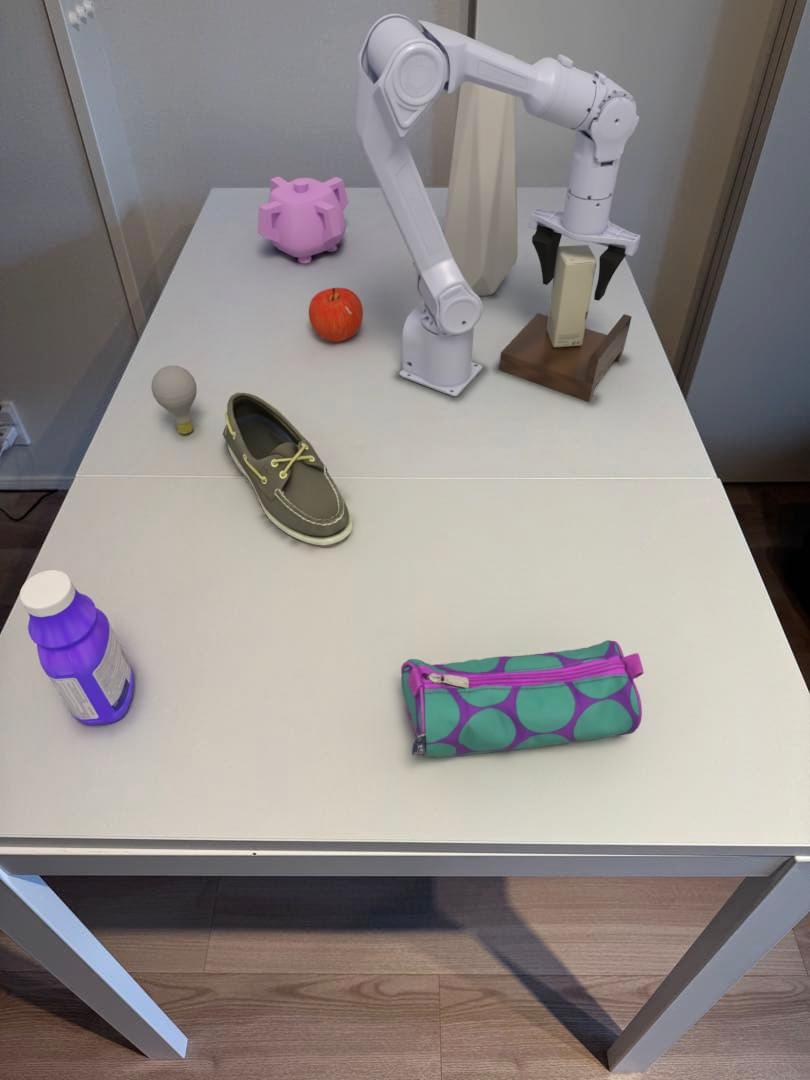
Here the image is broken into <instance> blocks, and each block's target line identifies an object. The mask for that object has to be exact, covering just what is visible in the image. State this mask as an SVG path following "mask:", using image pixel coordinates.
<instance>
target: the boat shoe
mask: <svg viewBox="0 0 810 1080" xmlns="http://www.w3.org/2000/svg"><path fill="white" fill-rule="evenodd" d="M224 412H225V413H224V416H225V417H224V418H225V422H226V426H225V427H224V429H223V432H222V436H223V439H224V441H225V442H226V445H227V448H228V451H229V455H230V456H231V458H232V460H233V462H234V463H235V465H236V466H237V468H238V469H239V470H240V472H241V473H242V474H243V475H244V477H246V478H247V481H249V483H250V485H251V486H252V488H253V490H254V492H255V494H256V497H257V499H258V502H259V504H260V506H261V508H262V510H263V512H264V513H265V515H266V517H267V518H268V519H269V520H270V521H271V523H273V524H274V525H275V526H276V527H277V528H279V529H280V530H281V531H283V532H284V533H286V534H287V535H289V536H291V537H293V538H294V539H297V540H298V541H302V542H305V543H308V544H311V545H316V546H329V545H333V544H336V543H339V542H341V541H343V540H344V539H346V538H347V537H348V536H350V534H351V533H352V531H353V528H354V520H353V515H352V512H351V510H350V507H349V505H348V504H347V502H346V500H345V499H344V497H343V495H342V494H341V493H340V491H339V488H338V486H337V484H336V483H335V482H334V480H333V478H332V477H331V475H330V474H329V472H328V468H327V465H325V464H324V462H323V461H322V460H321V459H320V457H319V455H318V454H317V452H316V449H315V448H314V446H313V444H311V442H310V441H309V440H308V439H307V438H306V437H305V436H303V434H302V433H301V432H300V431H299V430H298V429H297V428H296V427H295V426H294V425H293V424H292V423H291V422H290V420H289V419H288V418H286V417H285V415H283V414H282V412H281V411H280V410H279V409H278V408H276V407H275V406H273V405H272V404H271V403H269V402H268V401H267V400H265V399H264V398H260V397H259V396H257V395H255V394H251V393H249V392H235V393H233V394H232V395H231V396H230V397H229V399H228V401H227V405H226V410H225V411H224Z"/></svg>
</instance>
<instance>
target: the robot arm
mask: <svg viewBox="0 0 810 1080" xmlns="http://www.w3.org/2000/svg"><path fill="white" fill-rule="evenodd" d="M417 22H418V24H419V25H420V26H421V28H422V30H423V31H420V30H419V28H418V26H417V25H416V23H415V22H414V21H413V20H412V19H410V18H409V17H408V16H406V15H404V14H400V13H390V14H386V15H384V16H382V17H380V18H379V19H377V20H376V21H375V22H374V23H373V24H372V25H371V26H370V28H369V30H368V32H367V34H366V37H365V39H364V42H363V44H362V46H361V49H360V51H359V53H358V55H357V68H358V88H357V90H358V91H357V101H356V115H355V128H354V129H355V130H354V131H355V134H356V138H357V140H358V143H359V145H360V147H361V150H362V151H363V154H364V156H365V158H366V160H367V163H368V164H369V167H370V169H371V172H372V174H373V176H374V178H375V180H376V182H377V184H378V187H379V189H380V191H381V193H382V196H383V197H384V200H385V201H386V204H387V206H388V208H389V211H390V212H391V215H392V218H393V220H394V221H395V223H396V226H397V228H398V230H399V232H400V235H401V236H402V239H403V241H404V243H405V245H406V248H407V250H408V252H409V255H410V257H411V259H412V261H413V262H412V264H413V267H414V269H415V272H416V282H415V284H416V291H417V293H418V294H419V296H420V297H421V298H422V299H423V306H422V307H415V308H413V309H412V310H411V311H410V313H409V314H408V316H407V318H406V319H405V322H404V325H403V327H402V334H401V359H402V361H401V365H402V367H401V369H402V370H400V371H399V376H400V378H403V379H407V380H409V381H411V382H414V383H417V384H419V385H421V386H422V385H423V386H425V387H428V388H431V389H433V390H436V391H438V392H441V393H443V394H446V395H448V396H451V397H458V396H459V395H460V394H461V392H462V391H463V390H465V388H466V387H467V386H468V385H469V384H470V383H471V382H472V381H473V380H474V379H475V378H476V376H478V374H479V373H480V372H481V371H482V370H483V366H482V365H481V364H479V363H477V362H473V361H472V360H473V348H474V347H473V345H474V334H475V333H474V330H475V327H476V326H477V325H478V323H479V322H480V320H481V318H482V315H483V311H484V309H483V308H484V307H483V302H482V299H481V298H480V296H478V295H477V294H475V293H474V291H473V290H472V288H471V287H470V285H469V284H468V282H467V281H466V279H465V278H464V276H463V275H462V273H461V271H460V269H459V267H458V265H457V264H456V263H455V261H454V259H453V257H452V254H451V252H450V249H449V247H448V244H447V242H446V239H445V237H444V234H443V229H442V227H441V225H440V222H439V219H438V217H437V214H436V212H435V210H434V208H433V205H432V203H431V200H430V197H429V195H428V192H427V190H426V187H425V185H424V183H423V180H422V178H421V175H420V173H419V170H418V168H417V165H416V163H415V161H414V158H413V155H412V152H411V150H410V148H409V146H408V144H407V139H408V137H409V135H410V133H411V130H412V129H413V127H414V126H416V124H417V123H418V122H419V121H420V119H421V118H422V117H423V116H424V115H425V113H426V112H427V111H428V110H429V109H430V108H431V107H432V105H433V104H434V103H435V102H436V100H437V99H438V98H439V97H440V95H441V94H442V91H444V92H445V93H446V94H447V95H451V94H452V93H454V92H455V91H456V90H457V89H458V88H460V86H461V84H463V83H464V82H465V81H468V82H472V83H475V84H478V85H481V86H485V87H488V88H491V89H494V90H498V91H501V92H504V93H507V94H511V95H514V96H516V98H520V99H521V102H522V105H523V107H524V110H525V112H526V113H527V114H528V115H530V116H533V117H536V118H537V119H540V120H543V121H547V122H549V123H551V124H555V125H557V126H561V127H563V128H566V129H568V130H571V131H575V135H574V136H575V137H574V142H573V149H572V156H571V162H570V169H569V176H568V182H567V189H566V195H565V201H564V209H563V211H562V210H561V211H560V210H551V209H543V208H538V207H535V209H534V210H532V212H531V213H530V215H529V223H528V228H530V229H533V230H535V233H534V234H533V235H532V238H531V243H532V245H533V247H534V249H535V252H536V254H537V257H538V261H539V265H540V271H541V278H542V285H545V286H548V285H549V284H550V283H551V282H552V281H553V278H554V270H555V262H556V255H557V248H558V247H559V246H560V244H561V239H562V236H564V237H566V238H568V239H570V240H573V241H578V242H587V243H593V244H597V245H600V246H602V247H603V246H604V247H606V249H605V250H604V251H603V252H602V253H601V255H599V262H598V263H599V266H598V267H599V268H598V278H597V282H596V286H595V291H594V297H593V300H594V301H597V302H599V301H600V300H601V299H602V298H603V297H604V296H605V295H606V292H607V288H608V286H609V284H610V282H611V279H612V277H613V276H614V274H615V272H616V271H617V269H618V268H619V266H620V265H621V263H622V261H623V260H624V259H625V258H626V257H627V256H630V257H632V256H634V255H635V253H636V252H638V249H639V245H640V241H641V235H640V234H637V233H634V232H631V231H629V230H627V229H625V228H623V227H620V226H619V225H617V224H614V223H613V222H611V221H609V219H610V212H611V209H612V208H611V207H612V202H613V199H614V198H613V197H614V193H615V188H616V183H617V178H618V173H619V168H620V163H621V157H622V155H623V154H624V150H625V145H626V143H627V141H628V139H630V137H631V136H632V135H633V133H635V130H636V129H637V127H638V124H639V121H640V116H639V115H638V114H637V109H638V107H637V102H636V100H635V99H634V96H633V95H632V94H631V93H630V92H629V91H627V90H625V89H624V88H623V87H621V86H620V85H619V84H617V82H615V81H613V80H612V79H610V78H609V77H607V76H606V75H605V74H604V73H603V72H601V71H597V70H595V71H594V72H593V74H592V73H589V72H587V71H584V70H582V69H580V68H577V67H574V66H573V65H574V61H573V60H572V59H571V58H569V57H568V56H566V55H563V54H558V56H557V58H556V59H555V58H553V57H550V56H549V57H544V58H541V59H540V60H538V61H536V62H534V63H533V64H531V63H530V64H529V63H527V62H525V61H523V60H521V59H519V58H517V57H515V58H514V57H512V56H510V55H511V54H510V55H508V54H509V53H505V52H503V51H501V50H498V49H496V48H494V47H492V46H489V45H488V44H485V43H483V42H481V41H478V40H477V39H474V38H472V37H470V36H468V35H465V34H464V33H461V32H458V31H456V30H453V29H451V28H450V29H449V28H448V27H444V26H441V25H439V24H436V23H433V22H430V21H427V20H421V19H420V20H419V19H418V20H417Z"/></svg>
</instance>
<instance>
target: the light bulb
mask: <svg viewBox="0 0 810 1080" xmlns="http://www.w3.org/2000/svg"><path fill="white" fill-rule="evenodd" d="M197 388H198V387H197V382H196V380H195V378H194V376H193V375H192V374H191V373H190V371H189V370H187V369H186V368H184V367H183V366H179V365H167V366H164V367H161V368H160V369H158V370H157V372H155V374H154V375H153V377H152V380H151V393H152V396H153V398H154V400H155V401H156V403H158V405H160V406H161V407H162V408H163V409H165V410H166V411H167V412H169V413H170V414H171V416H172V418H173V421H174V422H175V426H176V430H177V432H178V433H179V434H181V435H187V434H189V433H191V432H192V431H193V430H194V424H193V421H192V419H193V417H192V413H191V409H192V406H193V404H194V402H195V399H196V396H197V392H198V391H197V390H198V389H197Z"/></svg>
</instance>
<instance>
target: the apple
mask: <svg viewBox="0 0 810 1080" xmlns="http://www.w3.org/2000/svg"><path fill="white" fill-rule="evenodd" d="M363 316H364V308H363V304H362V301H361V300H360V297H359V296H358V295H357V294H356V293H355V292H354V291H353V290H351V289H349V288H345V287H330V288H327V289H324V290H321V291H319V292H318V293H316V294H315V295H314V296H313V297H312V298H311V300H310V303H309V306H308V319H309V322H310V326H311V327H312V329H313V330H314V331H315V333H316V334H317V335H318V336H319V337H320V338H322V339H325V340H327V341H329V342H332V343H340V342H343V341H345V340H348V339H350V338H352V337H353V336H354V335H356V334H357V333H358V331H359V330H360V328H361V326H362V322H363Z"/></svg>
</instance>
